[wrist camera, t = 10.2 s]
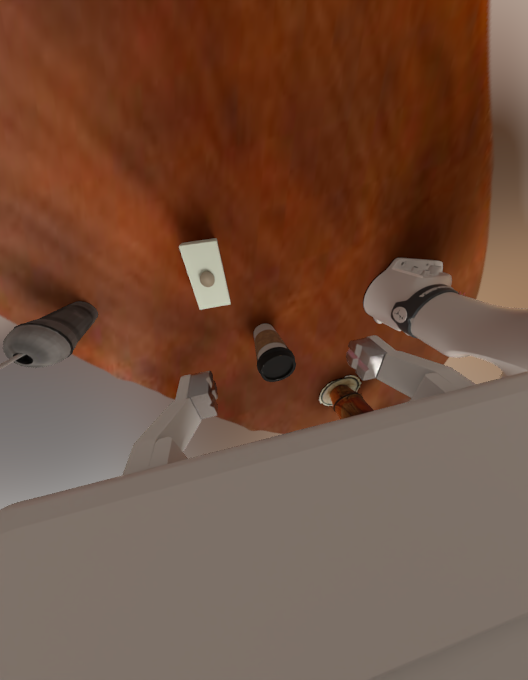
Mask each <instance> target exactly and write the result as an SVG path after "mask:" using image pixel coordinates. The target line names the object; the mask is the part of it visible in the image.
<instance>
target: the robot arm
mask: <svg viewBox="0 0 528 680" xmlns="http://www.w3.org/2000/svg"><path fill="white" fill-rule="evenodd" d="M442 270H443V263H442V262H441V261H438V260H425V259H412V258H396V259H395V260H394V261H393V262H392V263H391V264H390V266H389V267H388V268H387V269H386V270H385V271H384V272H383V273H381V274H380V275H379V276H378V277H377V278H376V279H375V280H374V281H373V282H372V283H371V285H370V286H369V288H368V290H367V292H366V294H365V297H364V309H365V311H366V313H367V314H369V315H370V316H372V317H373V318H374V320H375V322H377V323H379V324H381V323H384V324H386V325H388V326H390V327H392V328H394V329H396V330H398V331H401V330H402V331H403V332H404V333H406V334H407V335H410V336H412V337H414V338H418V339H420V340H422V341H423V342H425V343H426V344H428V345H430V346H431V347H433V348H434V349H436V350H438V351H439V352H441V353H442V354H444V355H446V356H449V357H457V358H460V357H467V356H473V357H476V358H480V359H483V360H486V361H488V362H491V363H493V364H495V365H496V366H498V367H499V368H500V369H501V370H502V371H503V372H502V374H501V376H500V378H499V379H496V380H492V381H488V382H484V383H480V384H475V383H473V382H472V381H470V380H469V379H467V378H466V377H464V376H463V375H462V374H460V373H459V372H457V371H456V370H454V369H453V368H451V367H448V366H445V365H442V364H439V363H436V362H433V361H429V360H426V359H423V358H420V357H417V356H414V355H411V354H408V353H404V352H401V351H396V350H395V349H393V348H392V347H391V346H389V345H388V344H387V343H386V342H384V341H383V340H382V339H381V338H379V337H378V336H375V335H374V336H370V337H366V338H361V339H357V340H352V341H350V342H349V345H348V347H349V348H350V349H349V350H348V352H347V355H346V358H347V362H348V364H349V365H350V366H351V367H352V368H354V369H356V373H357V375H358V376H359V377H360V378H361V379H362V380H363V381H364V380H369V379H374V378H377V379H378V380H380V381H382V382H384V383H385V384H387V385H389V386H391V387H393V388H394V389H396V390H398V391H400V392H402V393H403V394H405V395H407V396H409V397H411V400H410V402H406V403H402V404H399V405H395V406H391V407H387V408H383V409H379V410H375V411H371V412H368V413H364V414H360V415H356V416H352V417H348V418H344V419H340V420H337V421H333V422H329V423H325V424H321V425H317V426H313V427H309V428H306V429H302V430H298V431H294V432H290V433H286V434H282V435H278V436H275V437H271V438H267V439H263V440H259V441H255V442H251V443H247V444H243V445H240V446H236V447H232V448H228V449H224V450H220V451H216V452H212V453H208V454H205V455H201V456H197V457H193V458H189V459H188V458H187V457H186V456H185V454H184V453H183V452H184V450H185V448H186V447H187V445H188V443H189V441H190V440H191V438H192V436H193V434H194V433H195V431H196V429H197V427H198V426H199V424H200V422H201V419H205V418H209V417H213V416H216V415H217V410H218V404H217V402H216V399H217V398H218V393H217V387H216V383H215V381H214V380H213V375H212V373H211V371H205V372H200V373H195V374H191V375H185V376H182V377H181V378H180V382H179V386H178V391H177V395H176V399H175V401H174V402H172V403H171V404H170V405H169V406H168V407H167V408H166V409H165V410H164V412H162V414H161V415H160V416H159V417H158V418H157V419H156V420H155V421H154V422H153V423H152V425H151V426H150V427H149V428H148V429H147V430H146V431H145V432H144V433H143V434H142V436H141V437H140V438H139V439H138V440H137V441H136V442H135V443H134V445H133V448H132V450H131V453H130V456H129V459H128V461H127V464H126V467H125V470H124V472H123V475H122V476H119V477H115V478H111V479H107V480H104V481H99V482H96V483H92V484H88V485H84V486H81V487H76V488H72V489H68V490H65V491H61V492H57V493H53V494H49V495H46V496H41V497H37V498H33V499H29V500H25V501H21V502H17V503H14V504H12V505H9V506H7V507H5V508H3V509H1V510H0V680H528V309H519V308H508V307H501V306H496V305H492V304H489V303H485V302H482V301H479V300H475V299H472V298H469V297H466V296H464V295H465V293H464V294H463V295H461V292H459V293H458V292H457V291H455V290H454V289H453V288H451V283H452V278H451V276H450V275H449V274H447V273H444V272H442Z"/></svg>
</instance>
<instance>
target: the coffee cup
mask: <svg viewBox="0 0 528 680" xmlns="http://www.w3.org/2000/svg"><path fill="white" fill-rule="evenodd" d="M254 340H255V349H256V356H257V368H258V371H259V373H260V374H261V376H262V378H263V379H264V380H266V381H269V382H275V381H280V380H282V379H285V378H287V377H288V376H290V375H291V374H292V373H293V371H294V370H295V367H296V363H295V358H294V355H293V353H292V352H291V351H290V350H289V349H288V347H287V346H286V345H285V343H284V342H283V340H282V339H281V338H280V336H279V335H278V333H277V332H276V331H275V329H274V328H273V327H272V326H271V325H270V324H261V325H259V326H257V327H256V328H255V330H254Z"/></svg>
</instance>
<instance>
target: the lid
mask: <svg viewBox="0 0 528 680" xmlns="http://www.w3.org/2000/svg"><path fill="white" fill-rule="evenodd" d="M179 249H180V252H181V255H182V258H183V261H184V264H185V267H186V270H187V273H188V276H189V279H190V282H191V285H192V288H193V291H194V294H195V297H196V300H197V303H198V306H199V309H200V310H201V309H207V308H212V307H218V306H223V305H229V304H231V303H230V297H229V292H228V288H227V283H226V279H225V274H224V270H223V265H222V261H221V256H220V252H219V247H218V243H217V238H214V239H207V240H200V241H192V242H185V243H181V244H180V245H179Z"/></svg>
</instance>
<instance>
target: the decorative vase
mask: <svg viewBox="0 0 528 680" xmlns="http://www.w3.org/2000/svg"><path fill="white" fill-rule="evenodd" d="M359 381H360V380H359V379H358V377H355V376H352V375H349V376H345V377H344V378H343V379H338V380H336V381H334V382H331V383H329V384H327V386H326V387H325V388H324V389H323V390H322V392H321V393H320V397H319V398H320V399H319V401H320V404H321V403H323V405H326V406H330V405H331V406H332V405H333V408H334V411H335V412H336V413H337V414H338V416H339V418H340V419H344V418H348V417H352V416H356V415H360V414H364V413H368V412H371V411H374V410H373V409H372V408H371V407H370V406H369V405H368V404H367V403H366V402H365V400H364V399H363V397H362V396H361V395H362V394H361V395H360V394H358V393H357V390H358V388H359V387H360V384H361V382H359Z"/></svg>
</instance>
